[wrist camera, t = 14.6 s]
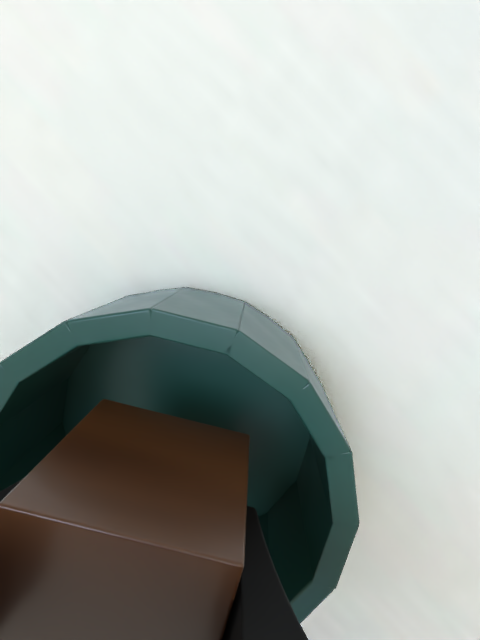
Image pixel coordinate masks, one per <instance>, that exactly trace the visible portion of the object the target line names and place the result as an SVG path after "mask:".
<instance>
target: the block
mask: <svg viewBox="0 0 480 640" xmlns="http://www.w3.org/2000/svg"><path fill="white" fill-rule="evenodd" d="M249 446H250V436H249V435H248V434H244V433H240V432H236V431H232V430H228V429H224V428H220V427H216V426H212V425H208V424H204V423H200V422H196V421H192V420H188V419H184V418H180V417H175V416H171V415H167V414H163V413H159V412H155V411H151V410H147V409H143V408H139V407H135V406H131V405H127V404H123V403H119V402H115V401H111V400H107V399H102V400H101V401H100V402H99V403H98V404H97V405H96V406H95V407H94V408H93V409H92V410H91V411H90V412H89V413H88V414H87V415H86V416H85V417H84V418H83V419H82V420H81V421H80V422H79V423H78V424H77V425H76V426H75V427H74V428H73V429H72V430H71V431H70V432H69V433H68V434H67V435H66V436H65V437H64V438H63V439H62V440H61V441H60V442H59V443H58V444H57V445H56V446H55V447H54V448H53V449H52V450H51V451H50V452H49V453H48V454H47V455H46V456H45V457H44V458H43V459H42V460H41V461H40V462H39V463H38V464H37V465H36V466H35V467H34V468H33V469H32V470H31V471H30V472H29V473H28V474H27V475H26V476H25V477H24V478H23V479H22V480H21V481H20V482H19V483H18V484H17V485H16V486H15V487H14V488H13V489H12V490H11V491H10V492H9V493H8V495H7V496H6V497H5V498H4V499H3V500H2V501H1V502H0V640H222V639H223V636H224V632H225V629H226V626H227V622H228V619H229V615H230V612H231V609H232V605H233V602H234V599H235V595H236V592H237V589H238V585H239V582H240V578H241V575H242V572H243V568H244V560H245V537H246V515H247V492H248V469H249Z"/></svg>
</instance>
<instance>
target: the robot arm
mask: <svg viewBox="0 0 480 640" xmlns="http://www.w3.org/2000/svg"><path fill="white" fill-rule="evenodd" d="M20 481H21V480H20ZM20 481H18V482H16V483H15V484H13V485H11V486H9V487H7V488H6V489H4V490H2V491H0V502H1V501H2V500H3V499H4V498H5V497H6V496H7V495H8V493H9V492H10V491H11V490H12V489H13V488H14V487H15V486H16V485H17V484H18V483H19V482H20ZM222 640H308V638H307V636H306V635H305V633H304V631H303V629H302V627H301V625H300V623H299V621H298V619H297V617H296V615H295V613H294V611H293V609H292V607H291V605H290V602H289V600H288V598H287V596H286V593H285V591H284V589H283V587H282V584H281V582H280V579H279V577H278V574H277V572H276V569H275V567H274V564H273V561H272V559H271V556H270V553H269V551H268V548H267V545H266V542H265V539H264V536H263V532H262V529H261V526H260V522H259V518H258V514H257V511H256V509H255V508H254V507H250V506H247V515H246V537H245V560H244V568H243V572H242V575H241V578H240V582H239V585H238V589H237V592H236V595H235V599H234V602H233V605H232V609H231V612H230V615H229V619H228V622H227V626H226V629H225V632H224V636H223V639H222Z"/></svg>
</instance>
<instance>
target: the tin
mask: <svg viewBox="0 0 480 640" xmlns="http://www.w3.org/2000/svg"><path fill="white" fill-rule="evenodd" d="M102 399H107V400H111V401H115V402H119V403H123V404H127V405H131V406H135V407H139V408H143V409H147V410H151V411H155V412H159V413H163V414H167V415H171V416H175V417H180V418H184V419H188V420H192V421H196V422H200V423H204V424H208V425H212V426H216V427H220V428H224V429H228V430H232V431H236V432H240V433H244V434H248V435H249V436H250V446H249V469H248V492H247V506H250V507H254V508H255V509H256V511H257V514H258V518H259V522H260V526H261V529H262V532H263V536H264V539H265V542H266V545H267V548H268V551H269V553H270V556H271V559H272V561H273V564H274V567H275V569H276V572H277V574H278V577H279V579H280V582H281V584H282V587H283V589H284V591H285V593H286V596H287V598H288V600H289V602H290V605H291V607H292V609H293V611H294V613H295V615H296V617H297V619H298V621H299V623H301V622H302V621H303V620H304V619H305V618H306V617H307V616H308V615H309V614H310V613H311V612H312V611H313V610H314V609H315V608H316V607H317V606H318V605H319V604H320V603H321V602H322V601H323V600H324V599H325V598H326V597H327V596H328V595H329V594H330V593H331V592H332V591H333V590H334V589H335V588H336V586H337V584H338V581H339V578H340V575H341V573H342V570H343V567H344V565H345V562H346V559H347V556H348V554H349V551H350V548H351V546H352V543H353V540H354V538H355V535H356V532H357V529H358V527H359V515H358V505H357V495H356V486H355V476H354V466H353V457H352V451H351V449H350V446H349V444H348V442H347V440H346V437H345V435H344V433H343V431H342V429H341V426H340V424H339V422H338V420H337V417H336V415H335V413H334V411H333V408H332V406H331V404H330V402H329V400H328V397H327V395H326V393H325V391H324V388H323V386H322V384H321V382H320V381H319V379H318V377H317V376H316V374H315V372H314V371H313V369H312V367H311V366H310V364H309V362H308V360H307V358H306V357H305V355H304V354H303V352H302V350H301V349H300V347H299V345H298V344H297V342H296V340H295V339H294V338H293V336H292V335H290V334H289V333H287V332H286V331H285V330H284V329H282V328H281V327H280V326H279V325H278V324H277V323H275V322H274V321H273V320H272V319H271V318H269V317H268V316H266V315H265V314H263V313H262V312H260V311H258V310H257V309H255V308H254V307H252V306H251V305H249V304H248V303H247V302H244V301H241V300H237V299H235V298H231V297H228V296H225V295H222V294H219V293H215V292H210V291H204V290H199V289H193V288H189V287H186V288H185V287H182V288H175V289H165V290H157V291H152V292H148V293H142V294H135V295H129V296H126V297H123V298H121V299H118V300H116V301H113V302H111V303H108V304H106V305H103V306H101V307H98V308H96V309H93V310H91V311H88V312H86V313H83V314H81V315H78V316H76V317H73V318H71V319H68V320H66V321H64V322H62V323H60V324H59V325H57V326H56V327H54V328H53V329H51V330H49V331H48V332H46V333H45V334H43V335H42V336H40V337H39V338H37V339H35V340H34V341H32V342H31V343H29V344H28V345H26V346H24V347H23V348H21V349H20V350H18V351H17V352H15V353H13V354H12V355H10V356H9V357H7V358H6V359H4V360H2V361H1V362H0V491H2V490H4V489H6V488H7V487H9V486H11V485H13V484H15V483H16V482H18V481H20V480H22V479H23V478H24V477H25V476H26V475H27V474H28V473H29V472H30V471H31V470H32V469H33V468H34V467H35V466H36V465H37V464H38V463H39V462H40V461H41V460H42V459H43V458H44V457H45V456H46V455H47V454H48V453H49V452H50V451H51V450H52V449H53V448H54V447H55V446H56V445H57V444H58V443H59V442H60V441H61V440H62V439H63V438H64V437H65V436H66V435H67V434H68V433H69V432H70V431H71V430H72V429H73V428H74V427H75V426H76V425H77V424H78V423H79V422H80V421H81V420H82V419H83V418H84V417H85V416H86V415H87V414H88V413H89V412H90V411H91V410H92V409H93V408H94V407H95V406H96V405H97V404H98V403H99V402H100V401H101V400H102Z"/></svg>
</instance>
